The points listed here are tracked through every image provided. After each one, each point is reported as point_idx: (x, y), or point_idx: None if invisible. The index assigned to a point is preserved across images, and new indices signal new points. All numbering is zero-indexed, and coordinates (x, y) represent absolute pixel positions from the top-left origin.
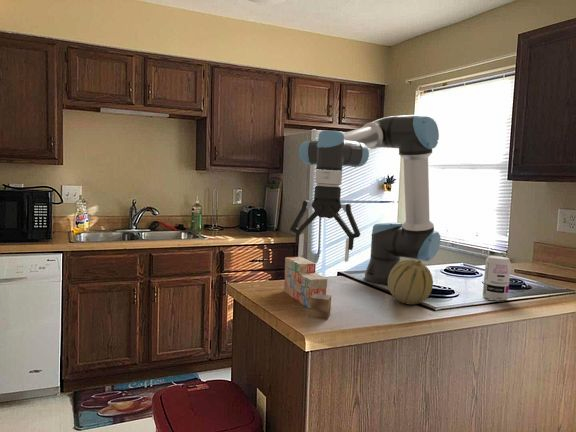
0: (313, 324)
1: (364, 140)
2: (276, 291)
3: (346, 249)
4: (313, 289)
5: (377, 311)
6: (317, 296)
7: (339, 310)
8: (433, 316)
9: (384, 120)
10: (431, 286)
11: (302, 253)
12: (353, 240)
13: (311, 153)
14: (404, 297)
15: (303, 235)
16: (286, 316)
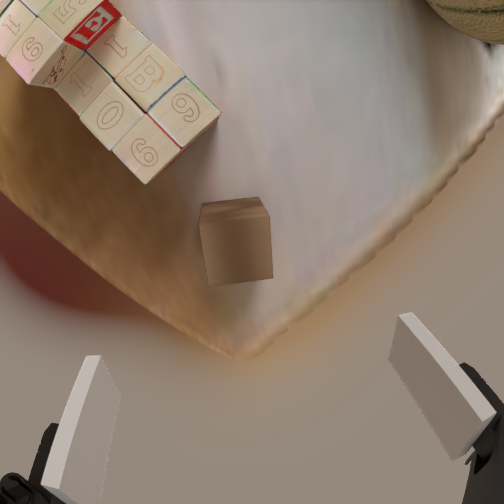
0: (237, 301)
1: None
2: None
3: (426, 408)
4: (170, 162)
5: (388, 91)
6: (222, 258)
7: (275, 131)
8: (493, 96)
9: None
10: None
11: (100, 374)
12: (499, 405)
13: None
14: (458, 30)
15: (71, 487)
16: (144, 278)
